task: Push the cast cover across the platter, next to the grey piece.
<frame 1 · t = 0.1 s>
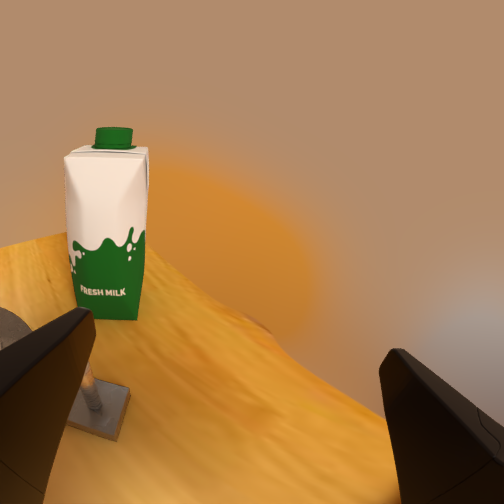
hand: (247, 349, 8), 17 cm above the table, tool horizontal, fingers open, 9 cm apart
grey piece: (96, 409, 19), on the table
milk carton: (110, 302, 32), on the table
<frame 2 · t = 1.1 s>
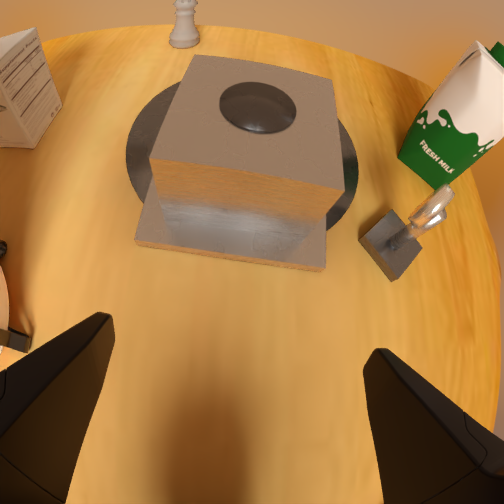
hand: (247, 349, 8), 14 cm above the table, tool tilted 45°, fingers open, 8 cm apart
grey piece: (388, 246, 26), on the table
milk carton: (421, 161, 31), on the table
platter: (247, 138, 27), on the table
rook chess piece: (184, 43, 32), on the table
supplement box: (30, 127, 24), on the table
cast cover: (240, 179, 25), resting on platter
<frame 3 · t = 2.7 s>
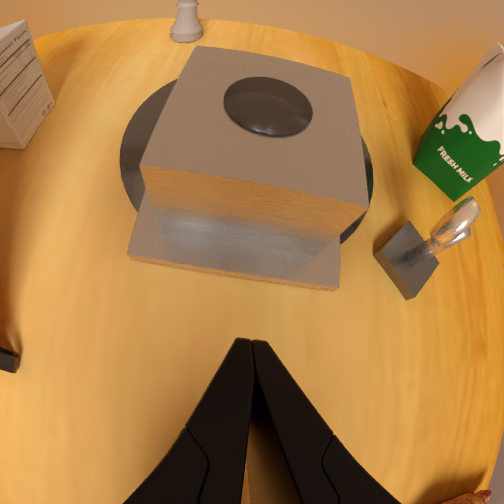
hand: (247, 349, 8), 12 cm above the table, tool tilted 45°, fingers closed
grey piece: (404, 261, 23), on the table
milk carton: (437, 167, 29), on the table
platter: (253, 139, 25), on the table
rook chess piece: (186, 38, 30), on the table
supplement box: (21, 126, 22), on the table
cast cover: (246, 186, 23), resting on platter
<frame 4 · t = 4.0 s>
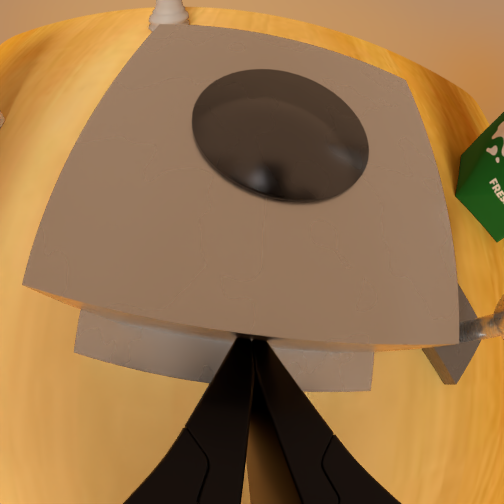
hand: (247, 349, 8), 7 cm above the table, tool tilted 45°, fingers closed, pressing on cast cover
grey piece: (447, 334, 16), on the table
milk carton: (478, 197, 22), on the table
rook chess piece: (168, 29, 23), on the table
cast cover: (242, 241, 16), resting on platter, touching gripper
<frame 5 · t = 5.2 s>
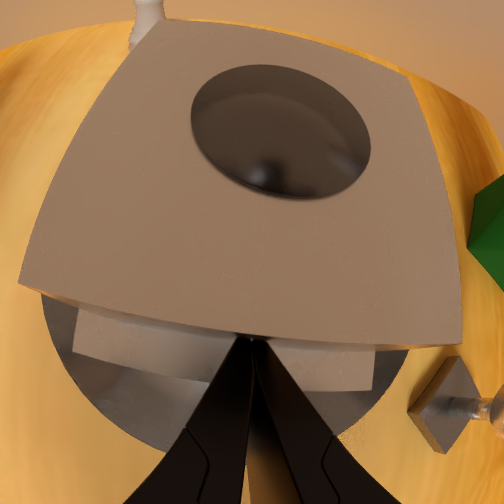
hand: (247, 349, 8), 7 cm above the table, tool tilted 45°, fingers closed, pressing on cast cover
grey piece: (443, 405, 14), on the table
milk carton: (490, 244, 20), on the table
platter: (243, 243, 16), on the table
rook chess piece: (151, 47, 21), on the table
cast cover: (242, 239, 16), resting on platter, touching gripper
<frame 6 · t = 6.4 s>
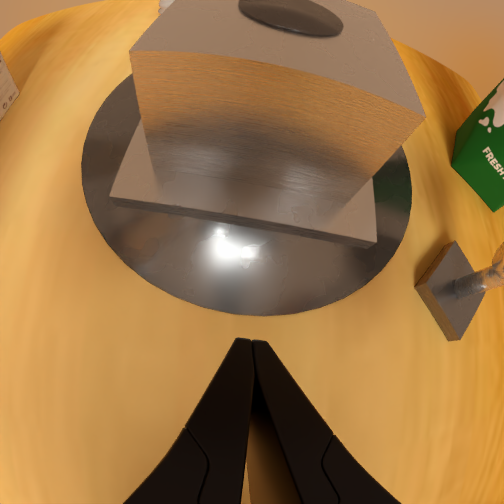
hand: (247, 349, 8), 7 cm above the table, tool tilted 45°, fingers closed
grey piece: (448, 291, 17), on the table
milk carton: (474, 170, 22), on the table
platter: (259, 130, 18), on the table
rook chess piece: (177, 13, 23), on the table
cast cover: (259, 126, 18), resting on platter
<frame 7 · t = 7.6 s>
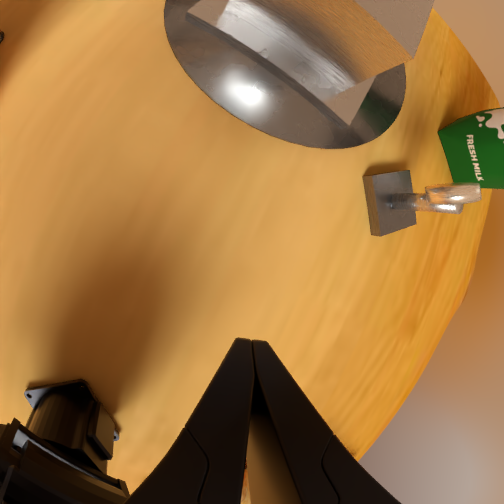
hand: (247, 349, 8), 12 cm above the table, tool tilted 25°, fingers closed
grey piece: (387, 201, 23), on the table
milk carton: (456, 151, 27), on the table
platter: (306, 23, 18), on the table
cast cover: (308, 21, 18), resting on platter
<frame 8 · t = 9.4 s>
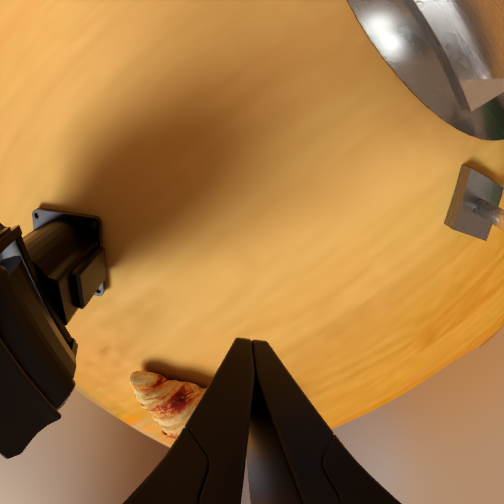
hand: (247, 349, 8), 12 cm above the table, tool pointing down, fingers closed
croissant: (219, 406, 28), on the table
grey piece: (471, 202, 18), on the table
platter: (466, 7, 11), on the table
cast cover: (468, 6, 10), resting on platter
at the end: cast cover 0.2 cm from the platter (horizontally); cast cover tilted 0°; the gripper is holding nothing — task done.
